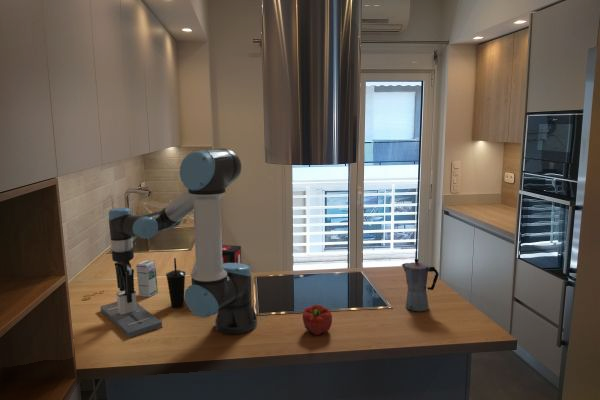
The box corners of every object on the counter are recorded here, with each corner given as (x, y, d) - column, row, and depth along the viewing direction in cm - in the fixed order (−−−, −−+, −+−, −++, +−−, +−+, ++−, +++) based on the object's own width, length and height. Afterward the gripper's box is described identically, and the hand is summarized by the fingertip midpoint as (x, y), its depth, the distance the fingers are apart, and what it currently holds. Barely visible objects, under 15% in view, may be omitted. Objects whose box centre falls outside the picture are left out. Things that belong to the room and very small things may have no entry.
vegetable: (330, 341, 148) (330, 313, 146) (300, 338, 150) (299, 311, 148) (333, 326, 159) (333, 300, 157) (305, 324, 161) (305, 298, 159)
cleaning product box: (199, 294, 190) (197, 250, 186) (207, 287, 198) (205, 244, 195) (235, 296, 187) (234, 251, 183) (242, 289, 195) (240, 245, 192)
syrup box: (149, 297, 187) (147, 265, 184) (138, 296, 189) (135, 263, 186) (158, 292, 192) (155, 261, 190) (146, 291, 194) (144, 259, 191)
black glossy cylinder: (182, 310, 174) (179, 261, 170) (164, 308, 175) (161, 260, 172) (190, 302, 181) (188, 256, 178) (173, 301, 183) (170, 255, 179)
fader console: (161, 327, 159) (161, 321, 159) (128, 338, 152) (128, 332, 151) (131, 302, 182) (130, 297, 181) (100, 310, 174) (100, 305, 173)
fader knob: (137, 310, 168) (135, 290, 167) (121, 315, 164) (119, 294, 163) (134, 308, 171) (132, 288, 169) (118, 312, 167) (116, 292, 165)
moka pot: (404, 299, 182) (405, 253, 179) (441, 308, 173) (443, 259, 170) (395, 307, 175) (396, 259, 171) (433, 316, 166) (435, 266, 162)
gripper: (140, 251, 160) (145, 312, 164) (124, 243, 172) (129, 299, 176) (120, 256, 155) (125, 318, 159) (104, 246, 167) (110, 304, 171)
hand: (127, 308), depth 167 cm, fingers closed on fader knob, 3 cm apart
